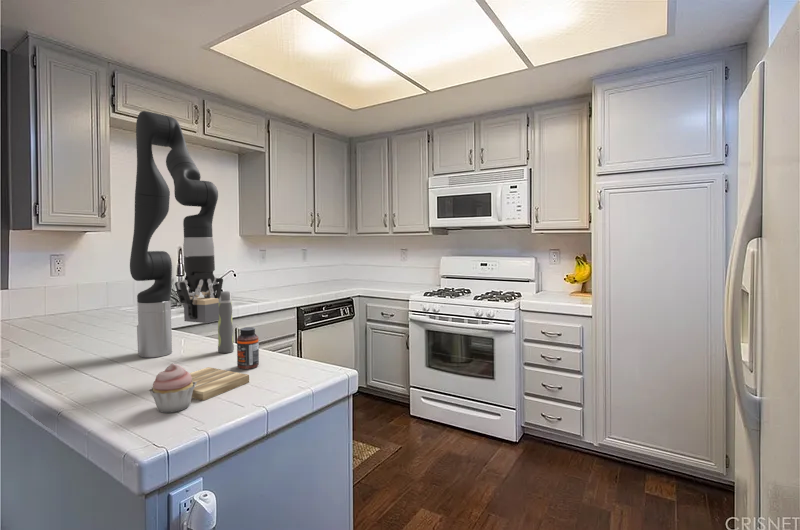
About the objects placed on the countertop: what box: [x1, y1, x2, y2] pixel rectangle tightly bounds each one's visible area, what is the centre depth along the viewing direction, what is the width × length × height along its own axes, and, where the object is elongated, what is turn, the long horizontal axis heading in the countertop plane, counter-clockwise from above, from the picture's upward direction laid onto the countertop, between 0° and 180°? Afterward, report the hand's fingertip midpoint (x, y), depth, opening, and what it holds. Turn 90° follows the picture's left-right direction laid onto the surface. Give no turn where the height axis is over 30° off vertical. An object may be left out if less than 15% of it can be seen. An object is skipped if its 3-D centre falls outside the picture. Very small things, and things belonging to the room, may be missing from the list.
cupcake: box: [147, 363, 197, 414], centre depth 93 cm, size 9×9×10 cm
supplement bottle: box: [236, 326, 260, 370], centre depth 123 cm, size 6×6×11 cm
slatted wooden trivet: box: [189, 367, 250, 402], centre depth 107 cm, size 15×14×2 cm
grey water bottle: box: [217, 290, 235, 354], centre depth 139 cm, size 5×5×20 cm
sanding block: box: [183, 296, 219, 324], centre depth 115 cm, size 8×4×6 cm, turn 65°
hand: (201, 316), depth 115 cm, fingers closed on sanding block, 4 cm apart
